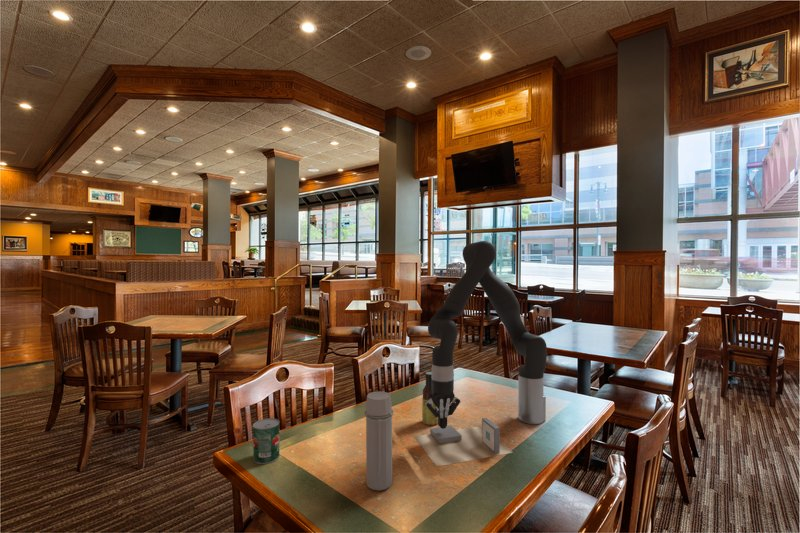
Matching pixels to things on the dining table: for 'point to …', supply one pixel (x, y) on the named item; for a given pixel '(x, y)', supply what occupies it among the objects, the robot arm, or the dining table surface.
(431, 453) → the white flat sheet
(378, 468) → the water bottle
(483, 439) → the slate tile
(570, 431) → the dining table surface
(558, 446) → the dining table surface
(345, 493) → the dining table surface
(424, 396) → the sauce bottle
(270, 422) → the canned tomato
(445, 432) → the slate tile
